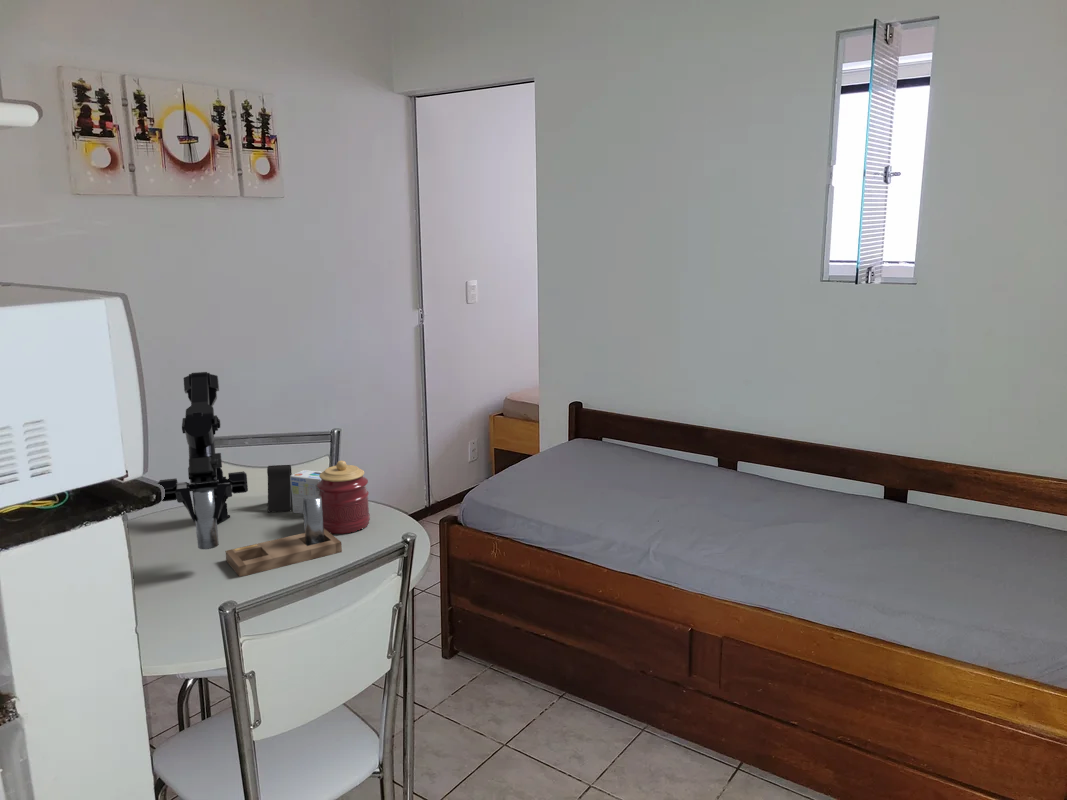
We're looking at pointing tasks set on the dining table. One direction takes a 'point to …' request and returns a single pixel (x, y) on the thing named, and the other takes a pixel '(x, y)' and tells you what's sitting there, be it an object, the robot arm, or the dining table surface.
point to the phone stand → (279, 488)
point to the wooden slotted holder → (279, 553)
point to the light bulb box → (303, 487)
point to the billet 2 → (313, 519)
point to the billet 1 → (205, 518)
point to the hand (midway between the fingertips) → (205, 520)
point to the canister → (344, 498)
